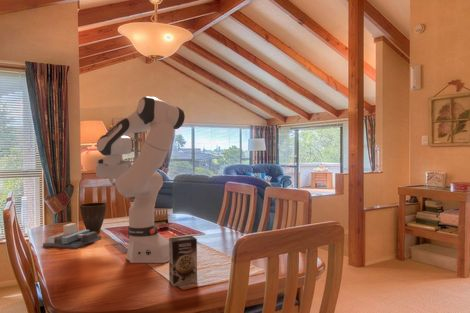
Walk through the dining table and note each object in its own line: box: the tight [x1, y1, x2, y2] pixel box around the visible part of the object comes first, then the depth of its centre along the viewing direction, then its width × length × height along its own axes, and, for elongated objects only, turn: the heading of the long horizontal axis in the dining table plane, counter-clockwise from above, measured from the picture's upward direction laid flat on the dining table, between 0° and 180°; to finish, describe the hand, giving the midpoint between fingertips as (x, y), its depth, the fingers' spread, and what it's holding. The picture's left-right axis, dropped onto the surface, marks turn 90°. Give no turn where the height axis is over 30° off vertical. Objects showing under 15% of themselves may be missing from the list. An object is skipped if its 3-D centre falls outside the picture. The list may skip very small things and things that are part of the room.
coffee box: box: [168, 235, 198, 287], centre depth 131 cm, size 9×6×16 cm
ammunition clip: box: [154, 208, 169, 225], centre depth 221 cm, size 11×2×12 cm, turn 117°
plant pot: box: [79, 202, 107, 233], centre depth 217 cm, size 15×15×16 cm
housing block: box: [62, 222, 78, 237], centre depth 191 cm, size 4×6×8 cm, turn 166°
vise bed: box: [42, 229, 102, 250], centre depth 190 cm, size 20×20×4 cm
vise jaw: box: [62, 229, 98, 244], centre depth 189 cm, size 11×18×3 cm, turn 166°
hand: (114, 185), depth 195 cm, fingers closed
